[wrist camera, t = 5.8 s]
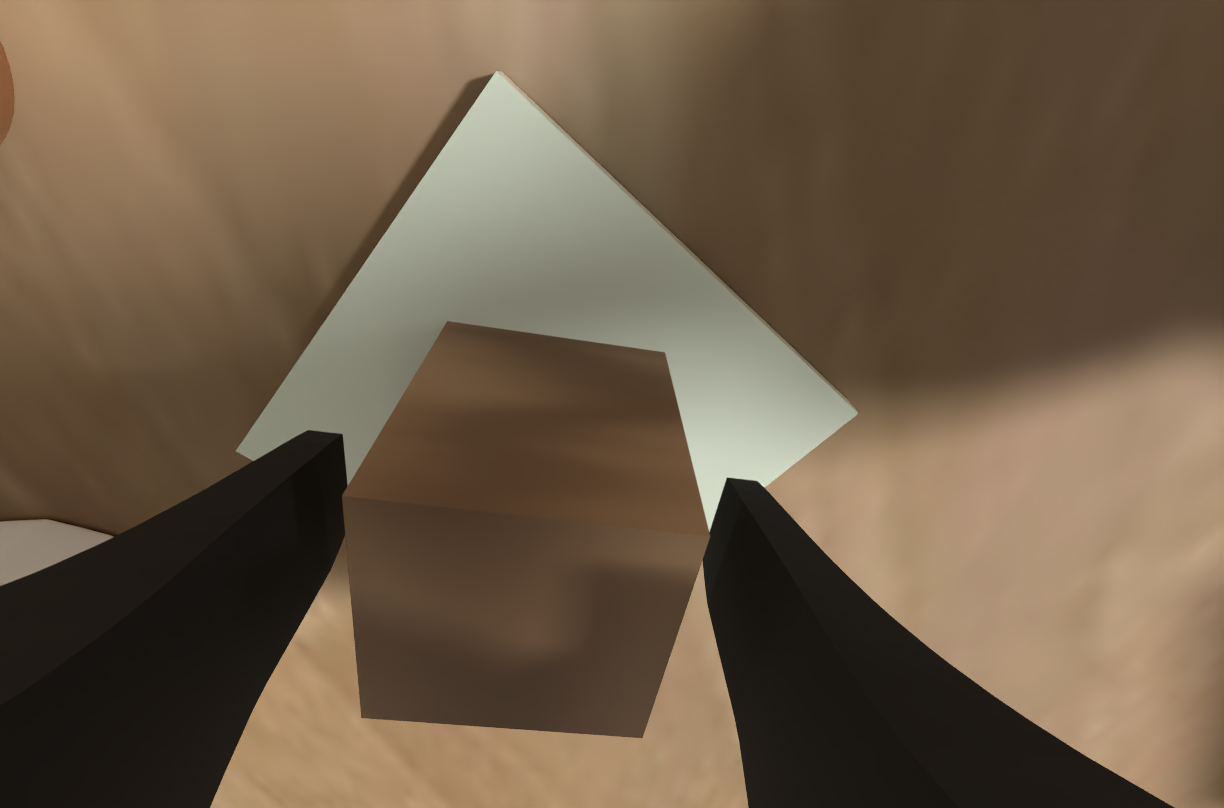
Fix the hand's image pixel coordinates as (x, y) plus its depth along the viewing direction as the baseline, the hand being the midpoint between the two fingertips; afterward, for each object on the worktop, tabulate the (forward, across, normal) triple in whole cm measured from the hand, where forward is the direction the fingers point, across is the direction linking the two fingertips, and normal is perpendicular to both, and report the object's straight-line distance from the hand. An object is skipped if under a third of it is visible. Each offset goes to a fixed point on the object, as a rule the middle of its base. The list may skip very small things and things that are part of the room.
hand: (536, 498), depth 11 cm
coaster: (+3, 0, 0) cm, 3 cm away
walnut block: (+2, 0, 0) cm, 2 cm away
